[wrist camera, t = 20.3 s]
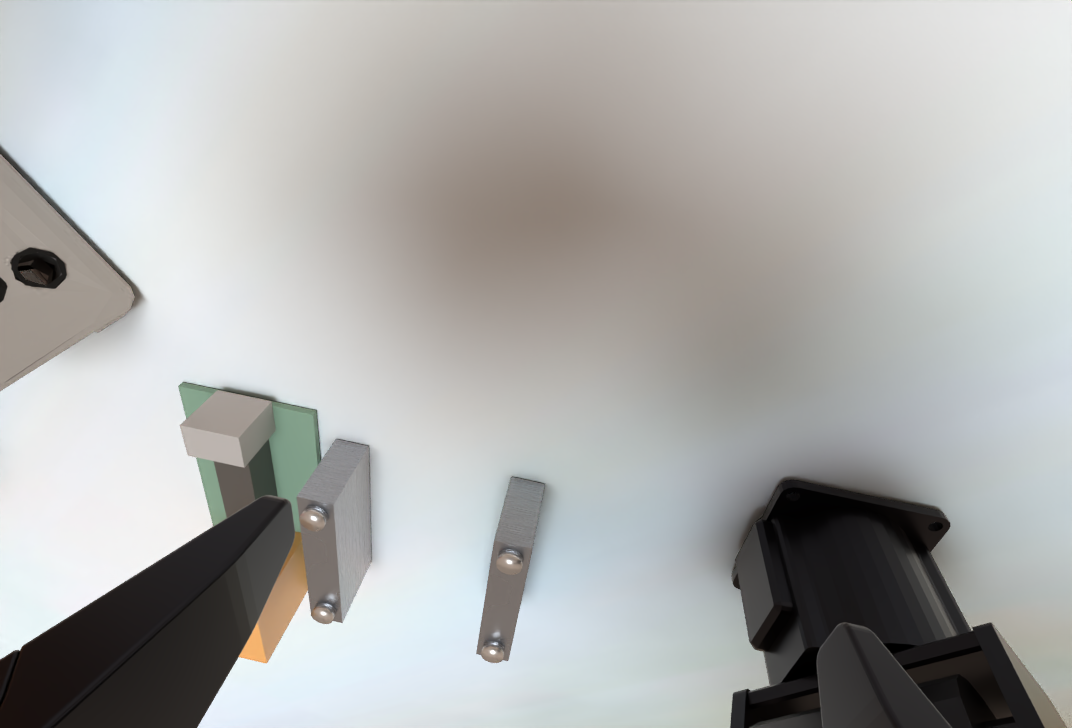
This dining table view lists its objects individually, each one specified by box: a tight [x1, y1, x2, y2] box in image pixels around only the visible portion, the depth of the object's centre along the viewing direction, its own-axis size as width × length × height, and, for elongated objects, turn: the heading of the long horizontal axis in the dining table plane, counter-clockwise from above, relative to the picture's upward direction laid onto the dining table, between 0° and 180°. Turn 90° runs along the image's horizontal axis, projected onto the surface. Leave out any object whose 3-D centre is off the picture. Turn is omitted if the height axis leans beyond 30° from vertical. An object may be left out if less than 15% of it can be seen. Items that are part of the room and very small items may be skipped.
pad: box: [178, 382, 321, 532], centre depth 28 cm, size 6×12×1 cm, turn 171°
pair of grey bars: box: [297, 439, 545, 663], centre depth 26 cm, size 9×8×4 cm
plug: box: [180, 390, 308, 663], centre depth 26 cm, size 12×4×4 cm, turn 171°
